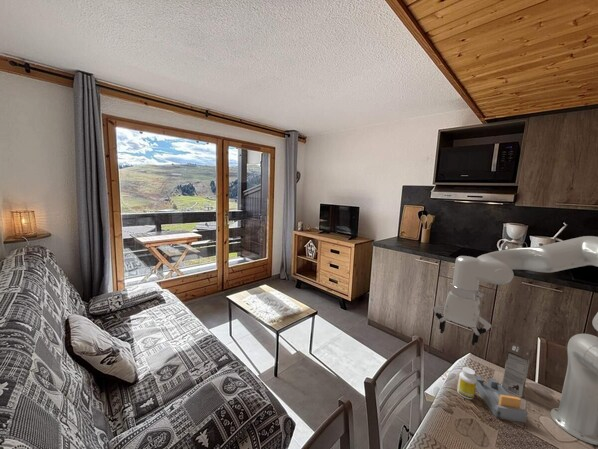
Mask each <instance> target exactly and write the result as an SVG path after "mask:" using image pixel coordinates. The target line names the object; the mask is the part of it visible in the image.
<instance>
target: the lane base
mask: <svg viewBox="0 0 598 449" xmlns="http://www.w3.org/2000/svg"><path fill="white" fill-rule="evenodd" d="M475 378H476V387H475V390H476V391H477V392H478V394H479V395H480V397H481V398H482V399H483V401H484V402H485V404H486V405H487V407H488V409H489V410H490V411H491V413H492V414H493V415H494V417H495V418H497V419H502V420H508V421H513V422H518V423H524V424H526V423H527V416H528V410H526V409H524V408H513V407H507V406H500V405H498V401H497V400H496V399H495V397H494V396H493V392H497V393H498V395H499V396H500V394H501V395H507V396H511V395H510V394H509V393H508V391H506V390H505V389H504V388H503V387H502V384H501V383H500V382H499V381H498V380H497V379H496V378H490V377H489V378H488V382H487V383H485V381H484V380H485V379H483V377H482V376H477V375H475Z"/></svg>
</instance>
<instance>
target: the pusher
mask: <svg viewBox="0 0 598 449" xmlns="http://www.w3.org/2000/svg"><path fill="white" fill-rule="evenodd" d="M493 396H494V397H495V399H496V400H497V401H498V405H500V406H507V407H513V408H520V407H521V403H522V399H521V397H519V396H512V395H510V396H507V395H501V394H500V396H499V395H498V393H497V392H493ZM520 409H521V408H520Z"/></svg>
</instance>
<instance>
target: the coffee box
mask: <svg viewBox="0 0 598 449" xmlns="http://www.w3.org/2000/svg"><path fill="white" fill-rule="evenodd" d="M531 355H532V349H530V348H526V347H524V346H523V345H520V344H517V343H514V342H510V343H509V347H508V349H507V353H506V360H505V365H504V370H503V376H502V383H501V386H502V387H503V388H504V389H505V391H506V392H507V393H508V392H509V393H510V394H513V395H515V396H516V397H519V398H520V399H521V398H523V395H524V391H525V388H526V387H525V386H526V384H527V376H528V372H529V365H530V360H531Z"/></svg>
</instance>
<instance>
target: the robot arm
mask: <svg viewBox="0 0 598 449" xmlns="http://www.w3.org/2000/svg"><path fill="white" fill-rule="evenodd" d="M586 266H594V267H598V236H594V235H586V236H585V235H583V236H579V237H575V238H570V239H566V240H562V241H557V242H552V243H548V244H544V245H540V246H532V247H531V246H530V247H519V248H518V247H517V248H509V249H508V248H507V249H501V250H500V249H499V250H496V251H492V252H488V253H484V254H481V255H479V256H477V257H473V256H470V255H468V256H467V255H459V256H458V257H456V258H455V263H454V269H453V277H452V284H451V289H450V290H449V292H448V293H447V297H446V300H445V304H444V305H436V306H433V309H432V310H433V311H434V314H435V316H436V318H437V319H438V322H439V326H438V329H439V331H440V334H443V333H444V332H445V330H446V321H447V320H448V321H450V322H453V323H456V324H459V325H462V326H465V327H468V328H471V329H472V331H473V334H472V340H471V345H472V346H475V344H479V337H480V335H482V334H484V333H487V331H488V330H490V329H491V328H492V324H491V323H490V322H488V320H486V319H485V318H484V317H482V316H480V310H481V301H480V298H483V296H484V293H483V292H480V290H479V287H480V281H482V282H486V283H488V284H489V283H490V284H494V285H506V284H508V283H511V281H512V280H513V279H514V275H515V274H514V271H513V270H524V271H525V270H526V271H532V272H538V273H555V272H560V271H565V270H570V269H574V268H579V267H586ZM440 311H443V312H442V313H443V314H442V313H441V312H440ZM479 323H481V324H482V325H483V327H479V326H478V324H479ZM592 326H593V328H594V330H596V332H598V311H597V313H596V314H595V315H594V317H593V318H592ZM566 351H567V368H566V373H565V377H564V381H563V386H562V391H561V395H560V396H561V397H560V401H559V405H558V407H554V408H551V411H550V416H551V418H552V420H553V422H555V423H556V424H557V425H558V426H559V428H561V429H563V431H564V432H566V433H568V434H570V435H571V436H573V437H574V438H577V439H578V440H581V441H583V442H584V443H587V444H590V445H595V446H598V336H596V335H593V334H590V333H577V334H575V335H573V336H571V337H570V339H569V340H568V342H567V350H566Z"/></svg>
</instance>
